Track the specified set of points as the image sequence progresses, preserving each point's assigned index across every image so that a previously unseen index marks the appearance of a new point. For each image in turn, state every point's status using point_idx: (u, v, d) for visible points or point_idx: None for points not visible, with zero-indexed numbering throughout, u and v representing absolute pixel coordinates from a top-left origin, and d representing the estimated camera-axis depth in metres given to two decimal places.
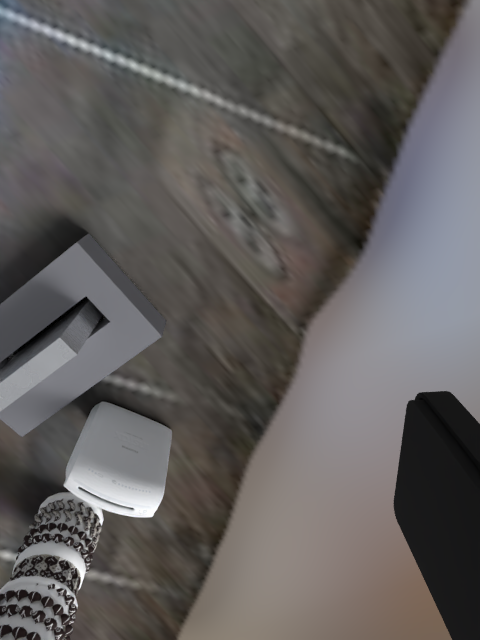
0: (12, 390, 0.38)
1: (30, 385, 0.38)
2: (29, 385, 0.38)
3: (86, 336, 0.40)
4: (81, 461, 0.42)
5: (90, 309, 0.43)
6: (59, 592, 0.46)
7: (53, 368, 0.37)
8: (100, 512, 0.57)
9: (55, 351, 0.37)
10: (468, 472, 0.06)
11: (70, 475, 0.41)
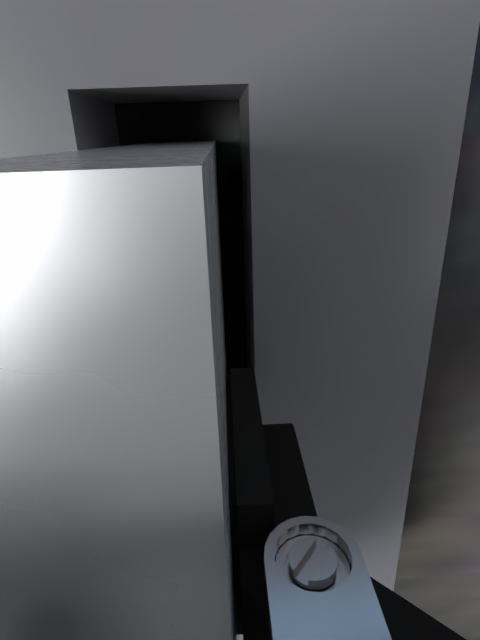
0: None
1: None
2: None
3: None
4: None
5: None
6: None
7: None
8: None
9: None
10: None
11: None
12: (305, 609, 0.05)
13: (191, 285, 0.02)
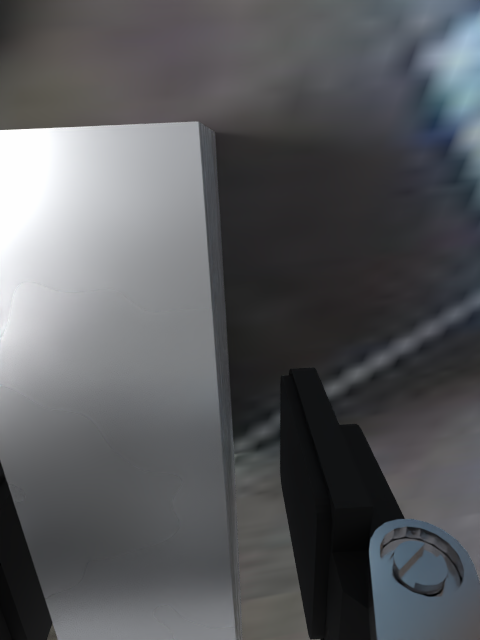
0: (130, 630, 0.05)
1: None
2: None
3: None
4: None
5: None
6: None
7: None
8: None
9: None
10: (300, 432, 0.07)
11: None
12: (411, 609, 0.05)
13: (191, 217, 0.03)
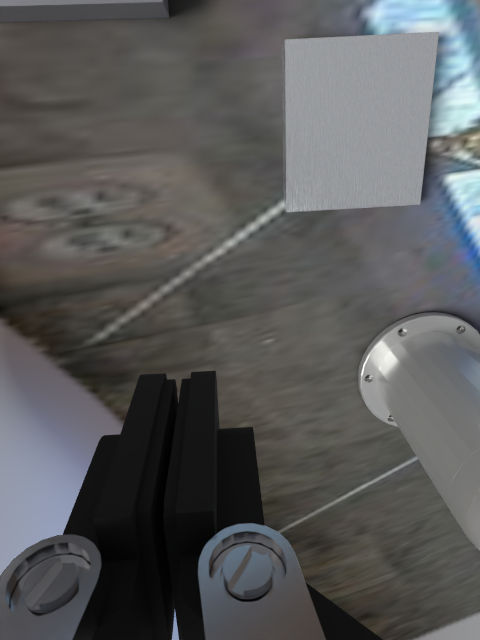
0: None
1: None
2: (426, 133, 0.34)
3: (379, 206, 0.36)
4: None
5: None
6: None
7: None
8: None
9: None
10: (177, 436, 0.07)
11: None
12: (240, 622, 0.05)
13: None
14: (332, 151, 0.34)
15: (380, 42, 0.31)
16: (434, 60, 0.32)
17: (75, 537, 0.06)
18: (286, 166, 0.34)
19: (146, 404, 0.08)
